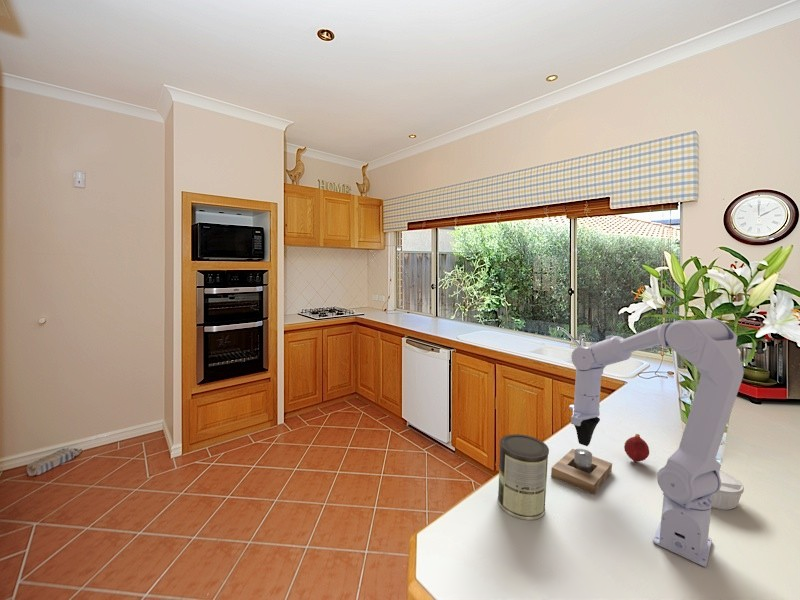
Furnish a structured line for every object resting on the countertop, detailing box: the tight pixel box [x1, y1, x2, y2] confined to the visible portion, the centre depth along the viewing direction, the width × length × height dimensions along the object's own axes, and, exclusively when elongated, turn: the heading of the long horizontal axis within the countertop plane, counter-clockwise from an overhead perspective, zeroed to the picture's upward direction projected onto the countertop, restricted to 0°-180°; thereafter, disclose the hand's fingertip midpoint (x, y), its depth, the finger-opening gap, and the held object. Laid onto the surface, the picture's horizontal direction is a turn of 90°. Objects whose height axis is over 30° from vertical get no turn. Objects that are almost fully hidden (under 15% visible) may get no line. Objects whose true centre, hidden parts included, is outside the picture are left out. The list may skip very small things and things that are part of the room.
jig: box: [550, 448, 613, 496], centre depth 92 cm, size 14×10×2 cm
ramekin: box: [711, 469, 745, 511], centre depth 83 cm, size 11×11×5 cm
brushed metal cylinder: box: [574, 448, 593, 474], centre depth 91 cm, size 4×4×6 cm
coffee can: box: [497, 433, 550, 521], centre depth 79 cm, size 10×10×14 cm
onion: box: [623, 433, 650, 463], centre depth 98 cm, size 6×6×8 cm
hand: (583, 444), depth 91 cm, fingers closed
